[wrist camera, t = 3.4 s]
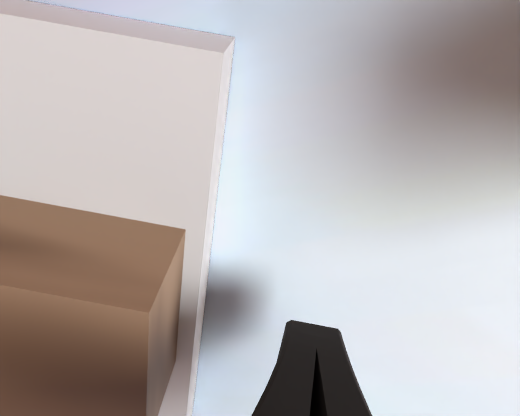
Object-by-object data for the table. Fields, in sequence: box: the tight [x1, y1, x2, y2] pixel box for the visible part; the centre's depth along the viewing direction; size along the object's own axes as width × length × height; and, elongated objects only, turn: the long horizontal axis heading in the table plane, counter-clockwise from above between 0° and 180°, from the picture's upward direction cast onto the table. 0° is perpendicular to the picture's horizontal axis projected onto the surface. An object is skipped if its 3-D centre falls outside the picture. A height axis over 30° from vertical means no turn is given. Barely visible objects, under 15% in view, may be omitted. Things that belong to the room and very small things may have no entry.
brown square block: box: [0, 195, 186, 416], centre depth 12 cm, size 5×5×3 cm
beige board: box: [0, 0, 235, 416], centre depth 14 cm, size 14×12×2 cm
